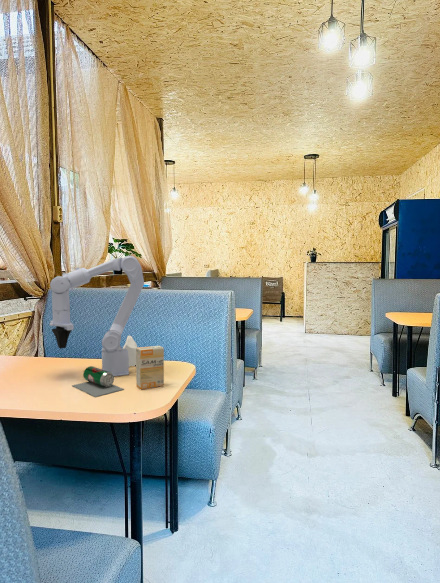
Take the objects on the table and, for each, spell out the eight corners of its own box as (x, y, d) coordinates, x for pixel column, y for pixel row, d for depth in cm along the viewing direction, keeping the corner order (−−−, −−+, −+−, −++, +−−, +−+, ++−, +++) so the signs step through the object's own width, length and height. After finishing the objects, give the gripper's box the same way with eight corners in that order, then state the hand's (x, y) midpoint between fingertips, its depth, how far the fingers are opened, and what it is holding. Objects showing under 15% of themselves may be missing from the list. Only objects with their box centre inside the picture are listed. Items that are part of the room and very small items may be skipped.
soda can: (79, 374, 134) (98, 381, 126) (90, 362, 137) (109, 369, 129) (88, 383, 137) (107, 391, 129) (98, 372, 140) (117, 379, 132)
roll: (132, 337, 154) (119, 336, 156) (132, 367, 155) (120, 366, 157) (139, 334, 160) (127, 333, 162) (140, 363, 161) (128, 362, 162)
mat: (72, 386, 132) (72, 385, 132) (99, 379, 139) (99, 379, 139) (95, 397, 121) (95, 396, 121) (123, 389, 128) (123, 388, 128)
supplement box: (140, 390, 127) (139, 350, 127) (136, 386, 132) (135, 347, 131) (164, 386, 131) (164, 347, 130) (159, 382, 136) (159, 344, 135)
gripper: (41, 309, 144) (42, 346, 145) (58, 312, 133) (60, 352, 134) (60, 307, 149) (61, 343, 150) (78, 311, 138) (79, 349, 139)
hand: (62, 347), depth 142 cm, fingers closed
